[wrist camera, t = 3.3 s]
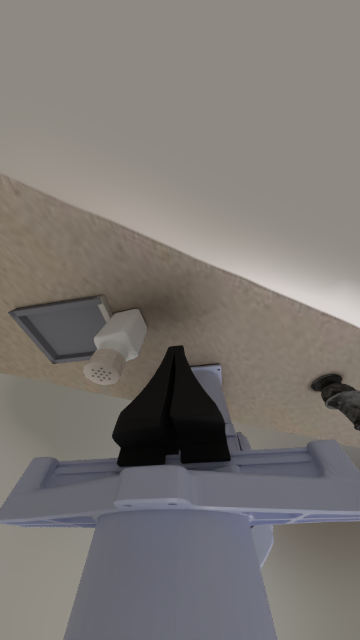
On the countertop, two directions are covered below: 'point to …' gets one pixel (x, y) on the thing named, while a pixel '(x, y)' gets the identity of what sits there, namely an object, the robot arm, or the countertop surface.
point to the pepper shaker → (116, 346)
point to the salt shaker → (339, 397)
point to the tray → (65, 327)
